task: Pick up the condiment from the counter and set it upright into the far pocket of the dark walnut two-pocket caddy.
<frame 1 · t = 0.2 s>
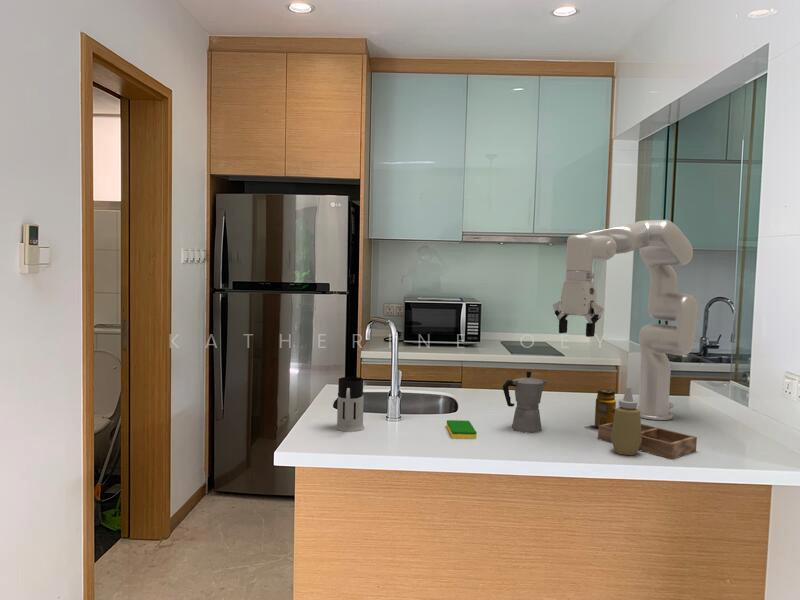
hand: (576, 334, 192), 30 cm above the counter, tool pointing down, fingers open, 9 cm apart
squeeze bottle: (625, 453, 178), on the counter
condiment: (602, 429, 203), on the counter
dish sponge: (460, 434, 195), on the counter
caddy: (645, 444, 186), on the counter
coffeepot: (523, 429, 200), on the counter
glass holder: (349, 431, 194), on the counter
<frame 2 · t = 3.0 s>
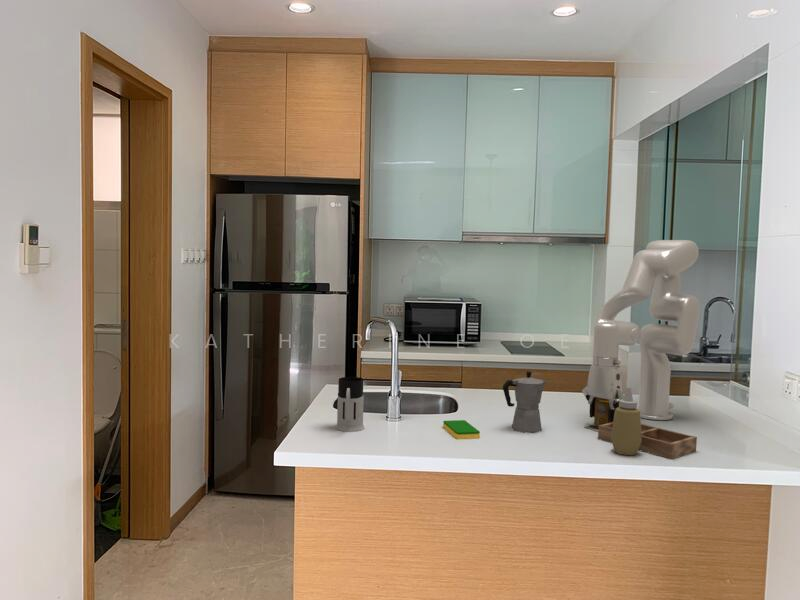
hand: (602, 418, 203), 3 cm above the counter, tool pointing down, fingers closed on condiment, 6 cm apart
condiment: (601, 428, 203), on the counter, touching gripper
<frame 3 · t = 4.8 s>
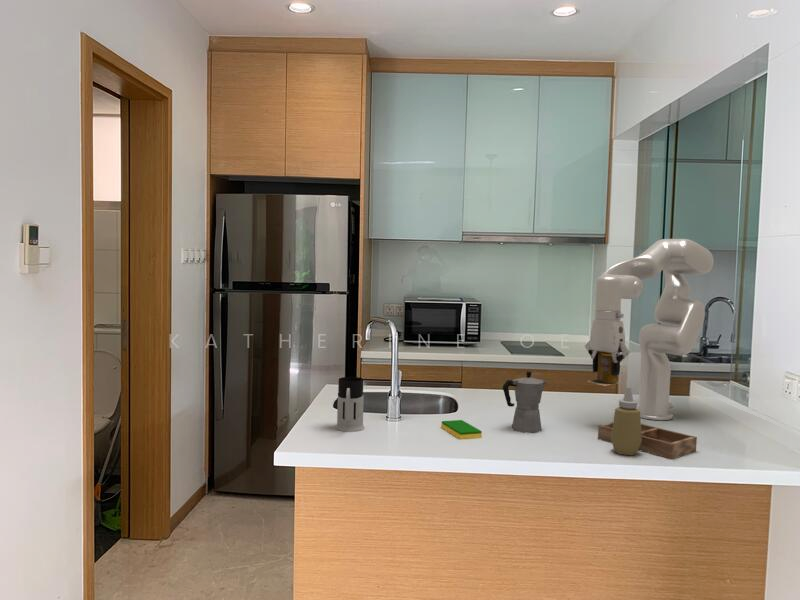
hand: (605, 372, 202), 18 cm above the counter, tool pointing down, fingers closed on condiment, 6 cm apart
condiment: (604, 383, 203), point 14 cm above the counter, touching gripper
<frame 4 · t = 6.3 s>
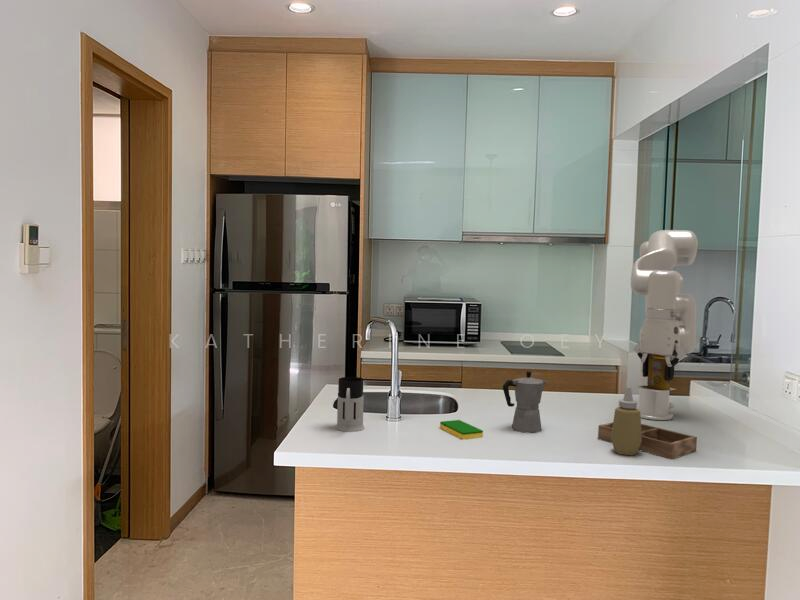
hand: (657, 377, 183), 20 cm above the counter, tool pointing down, fingers closed on condiment, 6 cm apart
condiment: (656, 389, 184), point 16 cm above the counter, touching gripper
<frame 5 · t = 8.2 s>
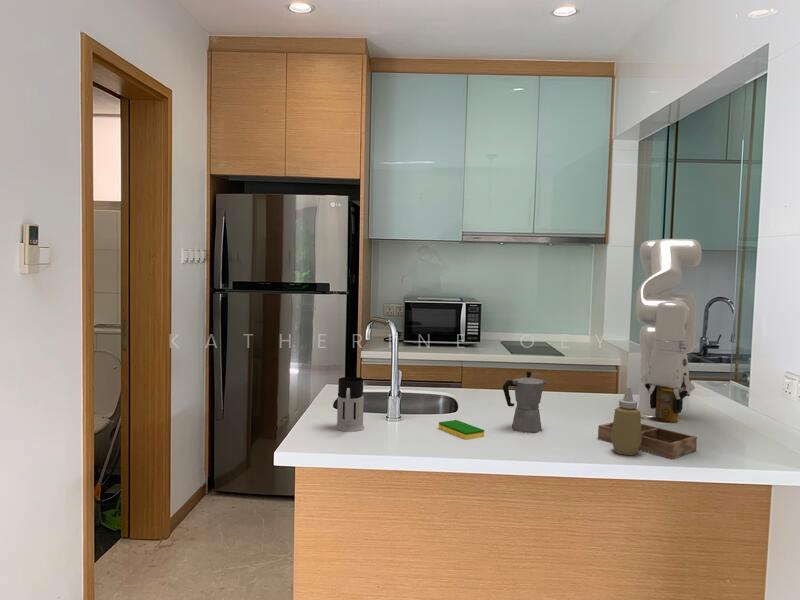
hand: (665, 409, 181), 11 cm above the counter, tool pointing down, fingers closed on condiment, 6 cm apart
condiment: (664, 421, 181), point 8 cm above the counter, touching gripper
when the fingers open (6 cm above the counter, at t = 9.7 s): condiment drops 2 cm, resting on caddy.
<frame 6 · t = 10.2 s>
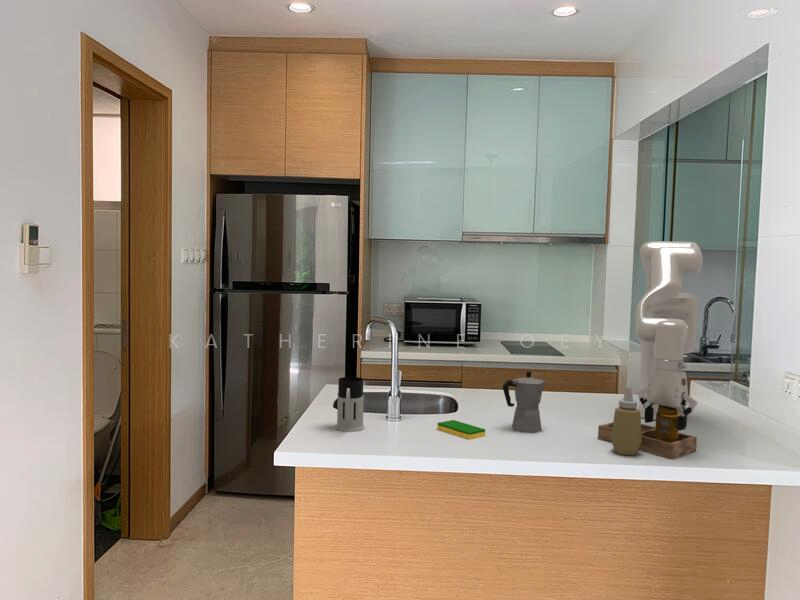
hand: (664, 425, 181), 7 cm above the counter, tool pointing down, fingers open, 9 cm apart
condiment: (663, 446, 182), point 1 cm above the counter, touching caddy
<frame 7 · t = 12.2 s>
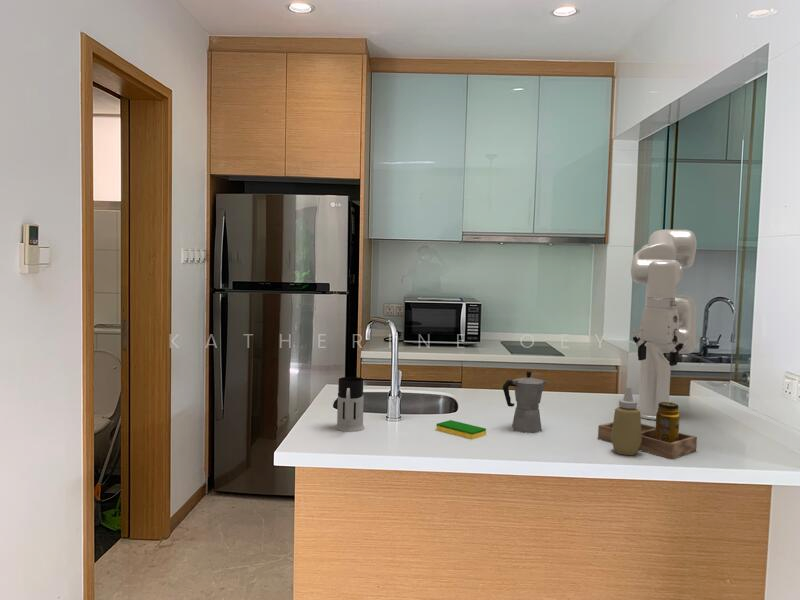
hand: (657, 362, 188), 23 cm above the counter, tool pointing down, fingers open, 9 cm apart
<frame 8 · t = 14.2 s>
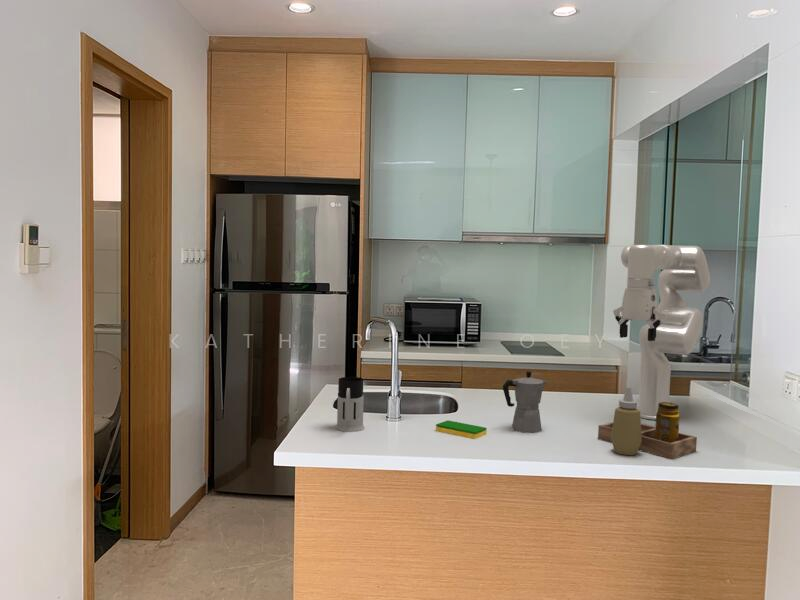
hand: (637, 339, 203), 28 cm above the counter, tool pointing down, fingers open, 9 cm apart
at the end: condiment 0.1 cm from the target spot on the caddy, point 0.8 cm above the caddy's base; condiment tilted 0°; the gripper is holding nothing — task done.
